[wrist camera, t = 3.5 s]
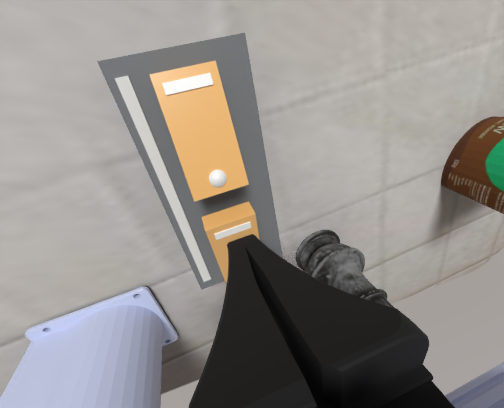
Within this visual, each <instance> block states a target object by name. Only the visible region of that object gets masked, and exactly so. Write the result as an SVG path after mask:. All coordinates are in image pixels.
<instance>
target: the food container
mask: <svg viewBox="0 0 504 408" xmlns="http://www.w3.org/2000/svg"><path fill="white" fill-rule="evenodd" d="M441 185H442V186H445V187H447V188H449V189H451V190H453V191H455V192H457V193H460V194H462V195H464V196H466V197H468V198H470V199H473V200H475V201H477V202H479V203H481V204H483V205H486V206H488V207H490V208H492V209H494V210H496V211H498V212H501V213H503V214H504V117H489V118H487V119H484V120H482V121H480V122H479V123H477V124H476V125H474V126H473V127H472V128H471V129H470V130H468V131H467V132H466V133H465V134H464V136H463V137H462V138H461V139H460V140H459V141H458V143H457V144H456V145H455V147H454V149H453V150H452V152H451V153H450V155H449V157H448V159H447V162H446V164H445V166H444V170H443V173H442V179H441Z"/></svg>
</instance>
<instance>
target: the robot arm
mask: <svg viewBox="0 0 504 408" xmlns="http://www.w3.org/2000/svg"><path fill="white" fill-rule="evenodd" d="M227 248H228V278H227V286H226V294H225V299H224V304H223V309H222V314H221V318H220V321H219V325H218V329H217V332H216V336H215V339H214V342H213V345H212V348H211V351H210V354H209V356H208V359H207V362H206V365H205V368H204V370H203V373H202V375H201V378H200V380H199V383H198V385H197V387H196V390H195V392H194V394H193V397H192V399H191V402H190V404H189V408H504V362H503V363H501V364H500V365H498V366H496V367H494V368H493V369H491V370H489V371H487V372H486V373H484V374H482V375H480V376H479V377H477V378H475V379H473V380H471V381H470V382H468V383H466V384H465V385H463V386H461V387H459V388H457V389H456V390H454V391H452V392H451V393H449V394H447V395H445V396H444V395H443V393H442V392H441V391H440V390H439V389H438V388H437V387H436V386H435V384H434V383H433V382H432V381H431V380H433V376H432V374H431V373H430V372H429V371H428V370H427V369H426V368H425V366H424V365H423V361H424V359H425V356H426V353H427V351H428V347H429V340H428V337H427V336H426V334H424V333H423V332H422V331H421V330H420V329H419V328H418V327H417V326H416V325H415V324H414V323H413V322H412V321H411V320H410V319H409V318H407V317H406V316H405V315H403V314H402V313H401V312H400V311H399V310H398V309H396V308H392V307H389V306H386V305H382V304H379V303H376V302H372V301H369V300H366V299H363V298H360V297H357V296H355V295H352V294H349V293H347V292H345V291H342V290H340V289H338V288H335V287H333V286H330V285H328V284H326V283H324V282H322V281H320V280H318V279H316V278H314V277H312V276H310V275H308V274H307V273H305V272H303V271H301V270H300V269H298V268H296V267H295V266H293V265H292V264H290V263H289V262H287V261H286V260H284V259H283V258H281V257H280V256H279V255H277V254H276V253H275V252H273V251H272V250H271V249H270V248H268V247H267V246H266V245H265V244H264V243H263V242H261V241H260V240H259V239H258V238H257V237H256V236H255V235H254V234H251V235H248V236H245V237H242V238H239V239H237V240H234V241H231V242H228V244H227ZM135 294H139V295H135ZM25 336H26V338H28V339H29V340H30V341H31V343H30V345H29V347H28V349H27V350H26V352H25V354H24V356H23V358H22V360H21V361H20V363H19V365H18V367H17V369H16V371H15V372H14V374H13V376H12V378H11V380H10V381H9V383H8V385H7V387H6V389H5V391H4V392H3V394H2V396H1V398H0V408H160V399H161V369H162V347H163V346H165V345H168V344H170V343H172V342H175V341H176V340H177V339H178V334H177V332H176V331H175V329H174V328H173V326H172V324H171V323H170V321H169V320H168V318H167V316H166V315H165V313H164V312H163V310H162V308H161V307H160V305H159V304H158V302H157V301H156V299H155V297H154V296H153V294H152V293H151V291H150V289H149V288H148V287H140V288H137V289H134V290H132V291H129V292H126V293H123V294H121V295H118V296H115V297H113V298H110V299H107V300H104V301H102V302H99V303H96V304H93V305H91V306H88V307H85V308H83V309H80V310H77V311H74V312H72V313H69V314H66V315H63V316H61V317H58V318H55V319H53V320H50V321H47V322H44V323H42V324H39V325H36V326H34V327H31V328H29V329H28V330H27V331H26V333H25Z"/></svg>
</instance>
